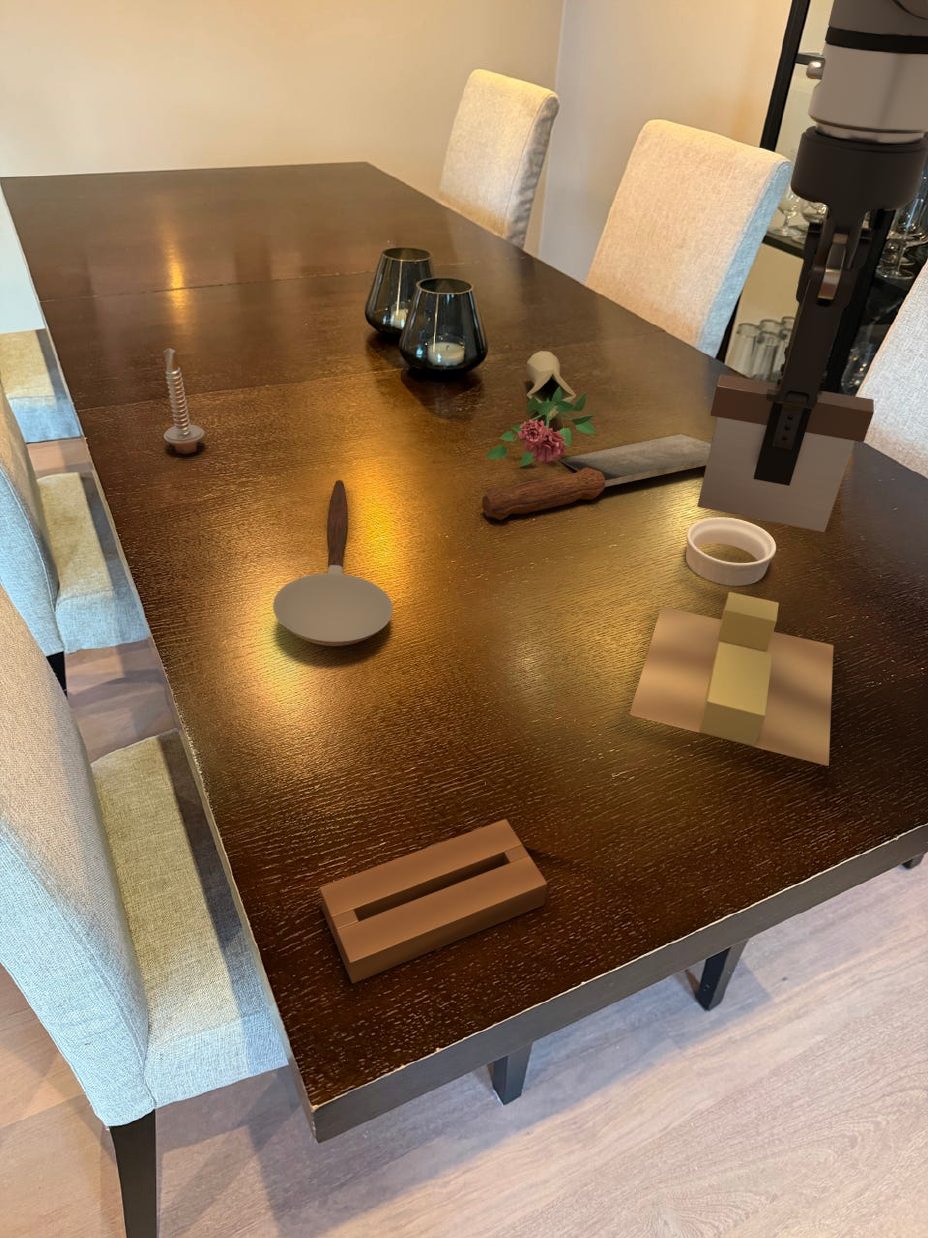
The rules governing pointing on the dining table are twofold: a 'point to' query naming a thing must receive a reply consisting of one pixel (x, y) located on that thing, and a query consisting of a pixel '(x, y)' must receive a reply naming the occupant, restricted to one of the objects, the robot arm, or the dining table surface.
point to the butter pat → (748, 621)
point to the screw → (179, 410)
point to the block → (430, 899)
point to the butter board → (793, 694)
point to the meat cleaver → (598, 474)
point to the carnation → (546, 413)
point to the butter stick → (737, 694)
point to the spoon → (333, 594)
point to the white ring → (734, 535)
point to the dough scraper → (815, 468)
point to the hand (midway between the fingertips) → (773, 470)
